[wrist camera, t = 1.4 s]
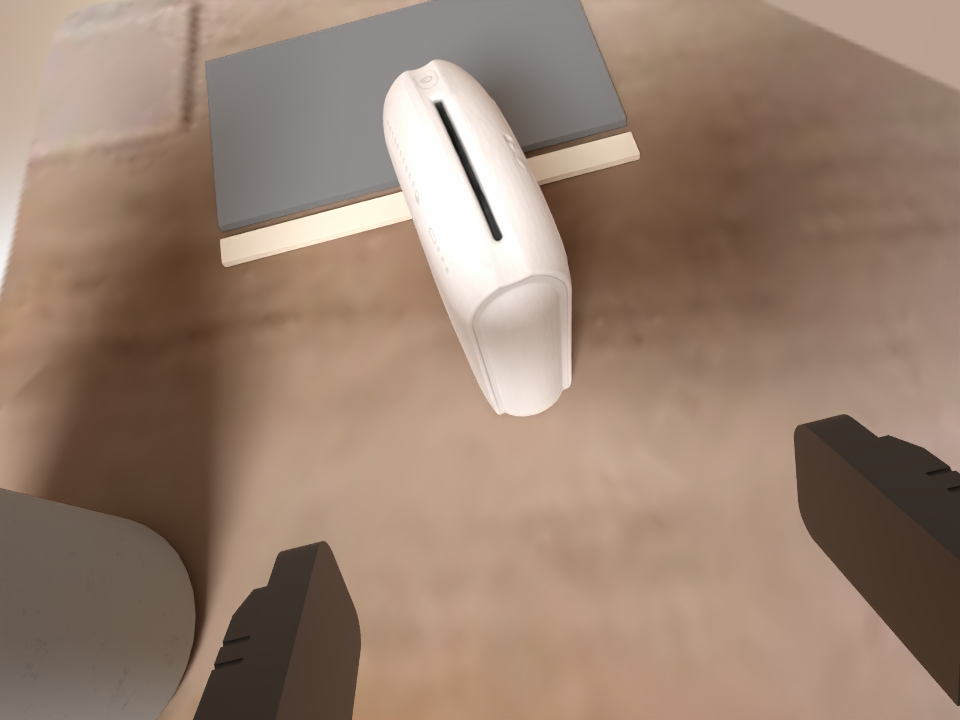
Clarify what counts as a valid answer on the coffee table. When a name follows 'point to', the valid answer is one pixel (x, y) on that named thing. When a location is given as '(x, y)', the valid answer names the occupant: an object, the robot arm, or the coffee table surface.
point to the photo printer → (484, 235)
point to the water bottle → (88, 614)
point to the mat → (360, 101)
